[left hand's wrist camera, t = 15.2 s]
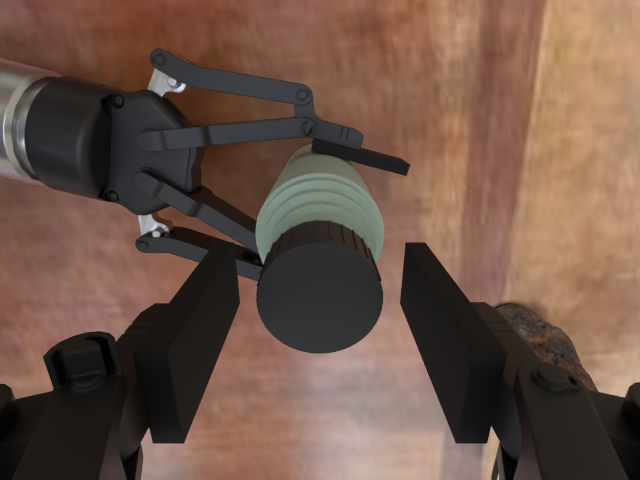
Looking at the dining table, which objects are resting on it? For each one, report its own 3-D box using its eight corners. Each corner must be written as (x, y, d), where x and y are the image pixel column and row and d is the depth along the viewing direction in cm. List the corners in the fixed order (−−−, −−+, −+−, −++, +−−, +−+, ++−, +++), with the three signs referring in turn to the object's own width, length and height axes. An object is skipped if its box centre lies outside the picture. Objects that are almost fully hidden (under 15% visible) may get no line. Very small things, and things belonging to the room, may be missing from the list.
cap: (389, 297, 15) (401, 331, 13) (291, 330, 16) (287, 369, 13) (351, 201, 13) (358, 221, 11) (246, 243, 14) (232, 269, 12)
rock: (568, 304, 37) (474, 296, 36) (640, 353, 29) (520, 343, 28) (531, 418, 41) (446, 412, 41) (585, 489, 33) (479, 482, 32)
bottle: (271, 199, 32) (204, 334, 13) (299, 129, 30) (265, 173, 11) (338, 226, 33) (362, 388, 14) (369, 160, 31) (446, 250, 12)
